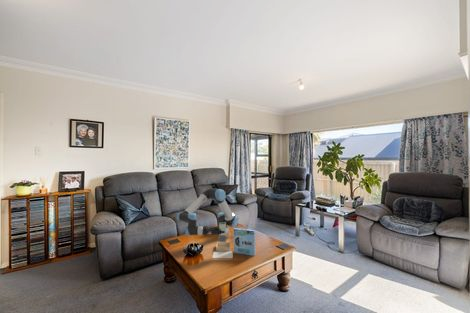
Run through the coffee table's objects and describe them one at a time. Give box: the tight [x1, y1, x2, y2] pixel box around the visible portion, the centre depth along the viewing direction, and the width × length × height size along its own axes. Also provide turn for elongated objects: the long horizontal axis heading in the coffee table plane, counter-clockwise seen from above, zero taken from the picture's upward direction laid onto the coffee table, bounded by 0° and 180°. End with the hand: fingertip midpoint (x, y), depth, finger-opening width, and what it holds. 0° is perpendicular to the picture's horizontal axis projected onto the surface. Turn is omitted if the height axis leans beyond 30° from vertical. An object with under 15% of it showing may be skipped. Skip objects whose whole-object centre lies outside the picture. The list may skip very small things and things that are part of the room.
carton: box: [215, 241, 231, 252], centre depth 201 cm, size 12×13×14 cm
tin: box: [218, 222, 227, 242], centre depth 188 cm, size 5×6×16 cm
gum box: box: [233, 226, 256, 257], centre depth 192 cm, size 20×5×23 cm, turn 72°
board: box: [211, 250, 234, 259], centre depth 188 cm, size 12×18×1 cm, turn 91°
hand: (228, 230), depth 188 cm, fingers closed on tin, 5 cm apart
